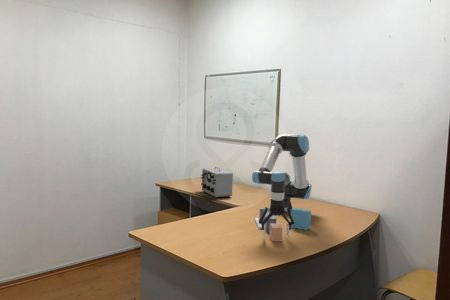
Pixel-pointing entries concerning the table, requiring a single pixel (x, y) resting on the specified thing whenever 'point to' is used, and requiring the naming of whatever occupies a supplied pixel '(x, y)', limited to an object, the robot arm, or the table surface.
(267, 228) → the grey flanged post
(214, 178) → the vintage electronic device
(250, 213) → the table surface
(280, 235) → the pink block
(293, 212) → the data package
